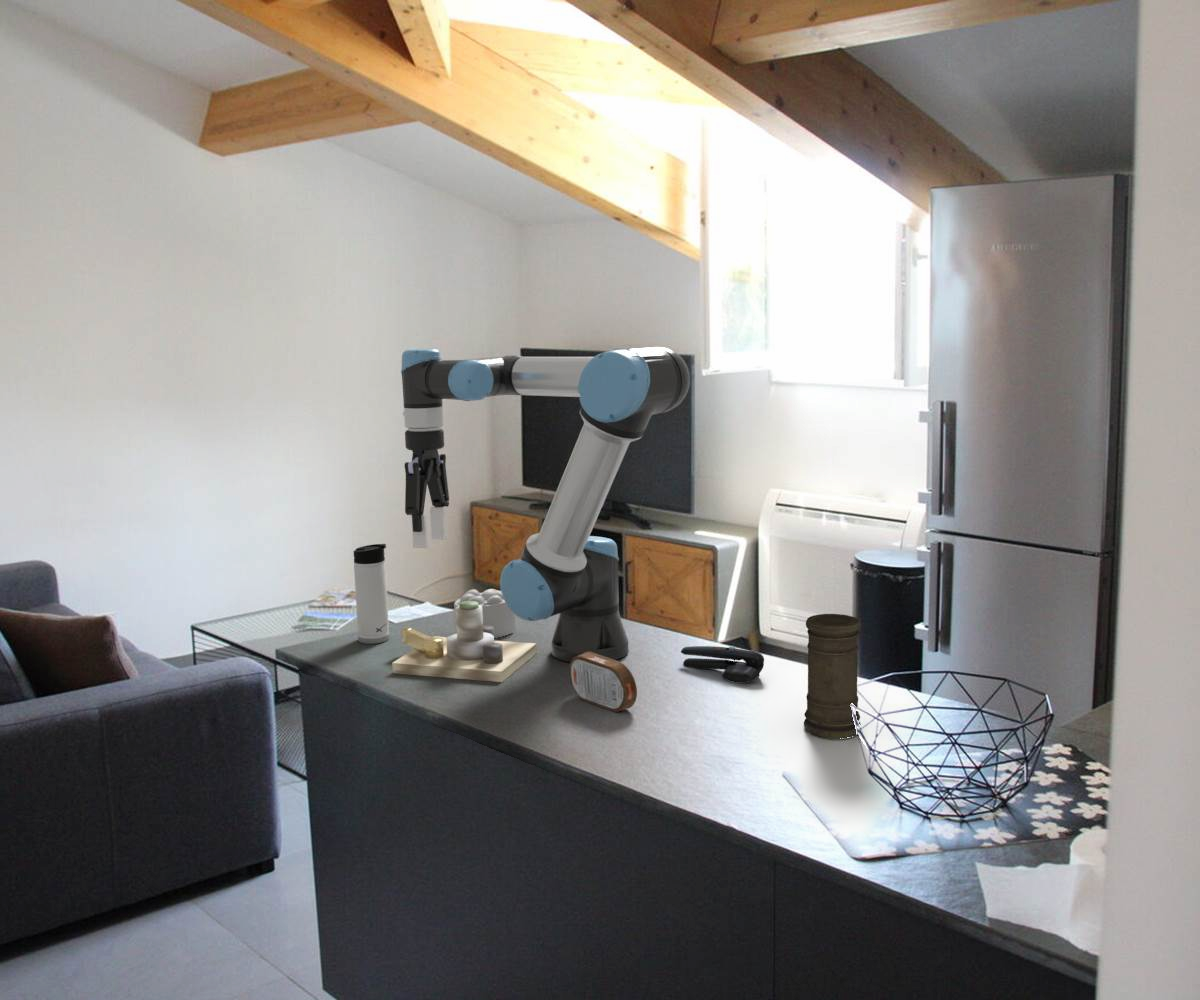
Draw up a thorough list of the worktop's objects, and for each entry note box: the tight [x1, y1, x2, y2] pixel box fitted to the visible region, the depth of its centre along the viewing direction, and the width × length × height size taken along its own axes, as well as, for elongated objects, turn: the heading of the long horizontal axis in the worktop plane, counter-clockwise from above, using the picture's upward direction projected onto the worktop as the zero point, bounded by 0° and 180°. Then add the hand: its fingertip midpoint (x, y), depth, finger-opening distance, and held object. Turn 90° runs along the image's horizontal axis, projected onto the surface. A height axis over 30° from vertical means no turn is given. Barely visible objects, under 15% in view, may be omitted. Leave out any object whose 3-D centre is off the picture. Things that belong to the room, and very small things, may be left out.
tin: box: [568, 652, 638, 713], centre depth 198 cm, size 15×3×8 cm, turn 41°
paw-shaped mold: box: [453, 588, 518, 639], centre depth 242 cm, size 10×13×9 cm
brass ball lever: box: [401, 626, 444, 658], centre depth 224 cm, size 13×4×3 cm, turn 38°
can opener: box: [680, 645, 765, 684], centre depth 214 cm, size 18×7×6 cm, turn 48°
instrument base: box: [391, 601, 538, 683], centre depth 222 cm, size 22×18×12 cm
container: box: [803, 613, 862, 740], centre depth 183 cm, size 9×9×18 cm
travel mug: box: [353, 543, 390, 645], centre depth 238 cm, size 6×7×20 cm
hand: (429, 543), depth 231 cm, fingers open, 8 cm apart
